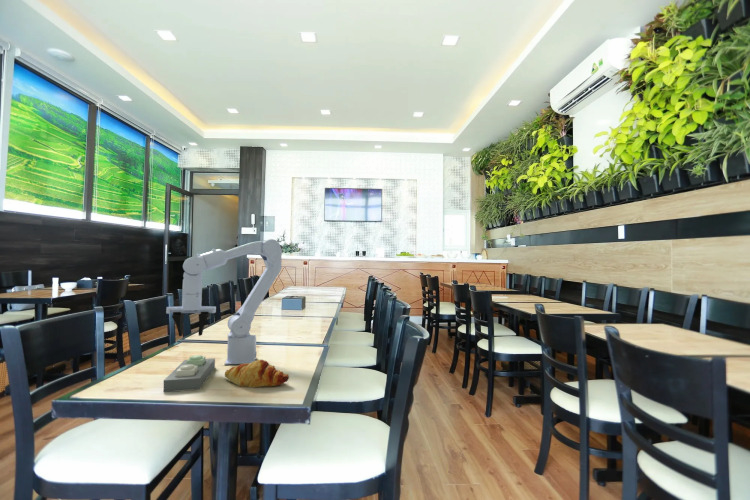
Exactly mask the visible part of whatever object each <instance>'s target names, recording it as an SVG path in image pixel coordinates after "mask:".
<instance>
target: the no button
mask: <svg viewBox="0 0 750 500" xmlns="http://www.w3.org/2000/svg"><path fill="white" fill-rule="evenodd" d="M197 372H198V365H197V366H194V365H193V364H186V365H182V366H180V368H179V369H178V370H177V371H176V377H181V376H195V374H196V373H197Z"/></svg>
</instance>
